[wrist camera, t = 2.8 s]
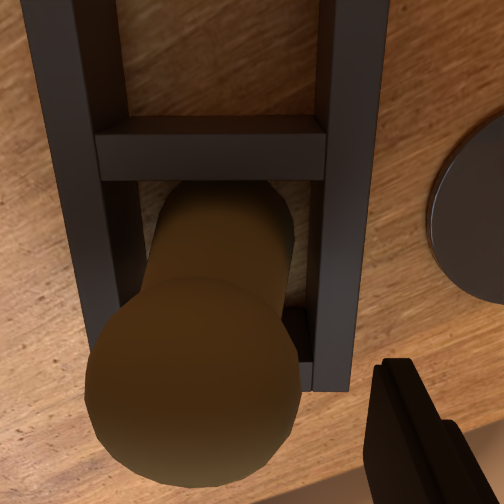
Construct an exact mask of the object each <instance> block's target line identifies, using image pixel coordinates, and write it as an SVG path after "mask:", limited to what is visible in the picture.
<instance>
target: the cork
mask: <svg viewBox="0 0 504 504" xmlns="http://www.w3.org/2000/svg"><path fill="white" fill-rule="evenodd" d="M294 242H295V236H294V224H293V218H292V216H291V214H290V212H289V209H288V207H287V205H286V203H285V200H284V199H283V198H282V197H281V196H280V195H279V194H278V193H277V192H276V191H275V190H274V189H273V187H272V186H271V185H270V184H268V183H267V182H265V181H182V182H181V183H180V184H179V185H178V186H177V187H176V188H175V189H174V190H173V191H172V192H171V193H170V194H169V195H168V197H167V199H166V201H165V203H164V205H163V207H162V209H161V211H160V213H159V216H158V220H157V224H156V228H155V232H154V237H153V241H152V245H151V249H150V253H149V257H148V261H147V266H146V270H145V274H144V278H143V282H142V286H141V290H140V292H139V293H138V294H137V295H135V296H134V297H133V298H131V299H130V300H129V301H128V302H127V303H126V304H125V305H124V306H122V307H121V308H120V309H119V310H118V311H117V312H116V313H115V314H113V315H112V316H111V317H110V318H109V320H108V321H107V323H106V325H105V326H104V328H103V330H102V331H101V333H100V335H99V337H98V339H97V341H96V343H95V345H94V347H93V349H92V351H91V353H90V355H89V358H88V363H87V369H86V376H85V397H84V400H85V404H86V407H87V411H88V414H89V417H90V420H91V423H92V425H93V428H94V431H95V434H96V437H97V439H98V440H99V441H100V442H101V444H102V445H103V446H104V447H105V449H106V450H107V451H108V452H109V453H110V455H111V456H112V457H113V458H114V459H115V460H117V461H118V462H120V463H121V464H122V465H124V466H125V467H127V468H128V469H130V470H131V471H132V472H134V473H135V474H138V475H140V476H143V477H145V478H148V479H150V480H153V481H156V482H158V483H161V484H166V485H172V486H178V487H185V488H203V487H218V486H222V485H225V484H228V483H232V482H235V481H238V480H242V479H244V478H246V477H247V476H249V475H251V474H252V473H254V472H255V471H257V470H259V469H260V468H262V467H263V466H265V465H266V464H267V462H268V461H269V460H270V459H271V457H272V456H273V455H274V454H275V453H276V451H277V450H278V449H279V448H280V446H281V445H282V444H283V443H284V441H285V440H286V439H287V438H288V436H289V435H290V433H291V430H292V427H293V424H294V421H295V418H296V414H297V411H298V407H299V403H300V399H301V395H302V391H301V380H300V370H299V361H298V354H297V350H296V348H295V346H294V344H293V342H292V340H291V338H290V336H289V334H288V332H287V330H286V328H285V326H284V325H283V323H282V321H281V317H282V311H283V305H284V299H285V293H286V288H287V282H288V276H289V270H290V265H291V259H292V253H293V247H294Z"/></svg>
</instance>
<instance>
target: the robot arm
mask: <svg viewBox="0 0 504 504" xmlns="http://www.w3.org/2000/svg"><path fill="white" fill-rule="evenodd" d="M363 462H364V467H365V471H366V475H367V479H368V483H369V487H370V491H371V495H372V498H373V503H374V504H500V503H499V502H498V500H497V498H496V496H495V494H494V492H493V490H492V488H491V486H490V485H489V483H488V481H487V479H486V477H485V475H484V473H483V472H482V470H481V468H480V466H479V464H478V462H477V460H476V458H475V456H474V455H473V453H472V451H471V449H470V447H469V445H468V443H467V441H466V440H465V438H464V436H463V434H462V432H461V430H460V428H459V427H458V425H457V424H456V423H455V422H454V421H453V420H441V418H440V416H439V414H438V412H437V410H436V408H435V406H434V404H433V402H432V400H431V398H430V396H429V394H428V392H427V390H426V388H425V386H424V384H423V382H422V380H421V378H420V376H419V374H418V372H417V370H416V368H415V366H414V364H413V362H412V360H411V359H409V358H384V359H383V361H382V365H375V366H374V370H373V377H372V385H371V393H370V400H369V408H368V416H367V423H366V431H365V438H364V446H363Z"/></svg>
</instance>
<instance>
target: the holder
mask: <svg viewBox="0 0 504 504" xmlns="http://www.w3.org/2000/svg"><path fill="white" fill-rule="evenodd" d="M20 3H21V8H22V13H23V18H24V23H25V28H26V33H27V38H28V43H29V48H30V53H31V58H32V63H33V68H34V73H35V78H36V83H37V88H38V93H39V98H40V103H41V108H42V113H43V118H44V123H45V128H46V133H47V138H48V143H49V148H50V153H51V158H52V163H53V168H54V173H55V178H56V183H57V188H58V193H59V198H60V203H61V208H62V213H63V218H64V223H65V228H66V233H67V238H68V243H69V248H70V253H71V258H72V263H73V268H74V273H75V278H76V283H77V288H78V293H79V298H80V303H81V308H82V313H83V318H84V323H85V328H86V333H87V338H88V343H89V348H90V353H91V351H92V349H93V347H94V345H95V343H96V341H97V339H98V337H99V335H100V333H101V331H102V330H103V328H104V326H105V325H106V323H107V321H108V320H109V318H110V317H111V316H112V315H113V314H115V313H116V312H117V311H118V310H119V309H120V308H121V307H122V306H124V305H125V304H126V303H127V302H128V301H129V300H130V299H131V298H133V297H134V296H135V295H137V294H138V293H139V292H140V290H141V286H142V282H143V278H144V274H145V270H146V266H147V261H146V253H145V245H144V236H143V228H142V220H141V212H140V204H139V195H138V187H137V181H301V180H311V194H310V215H309V236H308V258H307V279H306V300H305V308H283V311H282V317H281V321H282V323H283V325H284V326H285V328H286V330H287V332H288V334H289V336H290V338H291V340H292V342H293V344H294V346H295V348H296V350H297V354H298V361H299V370H300V380H301V391H302V392H311V390H312V391H313V392H348V391H349V386H350V376H351V367H352V357H353V348H354V338H355V329H356V319H357V310H358V300H359V290H360V281H361V271H362V262H363V252H364V243H365V233H366V224H367V214H368V205H369V195H370V186H371V176H372V167H373V157H374V148H375V138H376V129H377V119H378V110H379V100H380V90H381V81H382V71H383V62H384V52H385V43H386V33H387V24H388V14H389V5H390V0H320V2H319V24H318V45H317V66H316V87H315V109H314V116H313V115H267V116H130V117H129V113H128V105H127V97H126V89H125V81H124V73H123V64H122V56H121V48H120V40H119V32H118V23H117V15H116V7H115V0H20Z"/></svg>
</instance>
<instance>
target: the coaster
mask: <svg viewBox="0 0 504 504" xmlns="http://www.w3.org/2000/svg"><path fill="white" fill-rule="evenodd" d="M426 225H427V236H428V241H429V246H430V248H431V251H432V254H433V256H434V258H435V260H436V262H437V263H438V265H439V267H440V268H441V269H442V271H443V272H444V273H445V274H446V276H447V277H448V278H449V279H450V280H451V281H452V282H453V283H454V284H455V285H456V286H458V287H459V288H460V289H462V290H463V291H465V292H466V293H468V294H470V295H472V296H474V297H476V298H479V299H482V300H485V301H488V302H491V303H497V304H502V305H504V110H503V111H501V112H499V113H498V114H496V115H494V116H493V117H491V118H489V119H488V120H486V121H485V122H484V123H482V124H481V125H480V126H479V127H477V128H476V129H475V130H474V131H472V132H471V133H470V134H469V135H468V136H467V137H466V138H465V139H464V140H463V141H462V142H461V143H460V144H459V146H458V147H457V148H456V149H455V150H454V151H453V153H452V154H451V155H450V157H449V158H448V160H447V161H446V163H445V164H444V166H443V167H442V169H441V171H440V173H439V175H438V177H437V179H436V181H435V184H434V186H433V189H432V192H431V195H430V199H429V203H428V208H427V218H426Z"/></svg>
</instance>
